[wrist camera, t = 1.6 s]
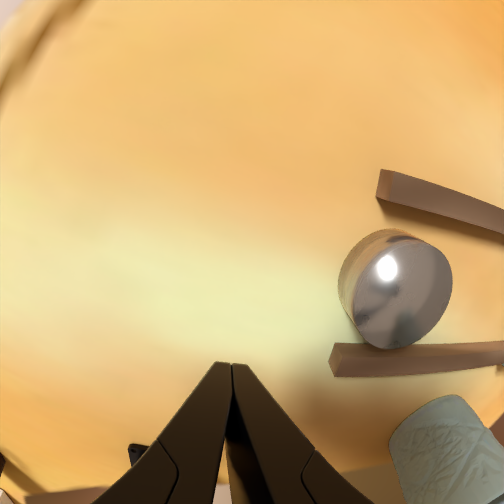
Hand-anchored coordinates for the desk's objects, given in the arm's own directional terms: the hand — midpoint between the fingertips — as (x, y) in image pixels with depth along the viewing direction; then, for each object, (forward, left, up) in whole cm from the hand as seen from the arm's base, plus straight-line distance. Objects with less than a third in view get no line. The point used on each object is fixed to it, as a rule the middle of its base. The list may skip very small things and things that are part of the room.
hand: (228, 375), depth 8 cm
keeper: (0, -9, -9) cm, 13 cm away
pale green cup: (-14, -20, -9) cm, 26 cm away
